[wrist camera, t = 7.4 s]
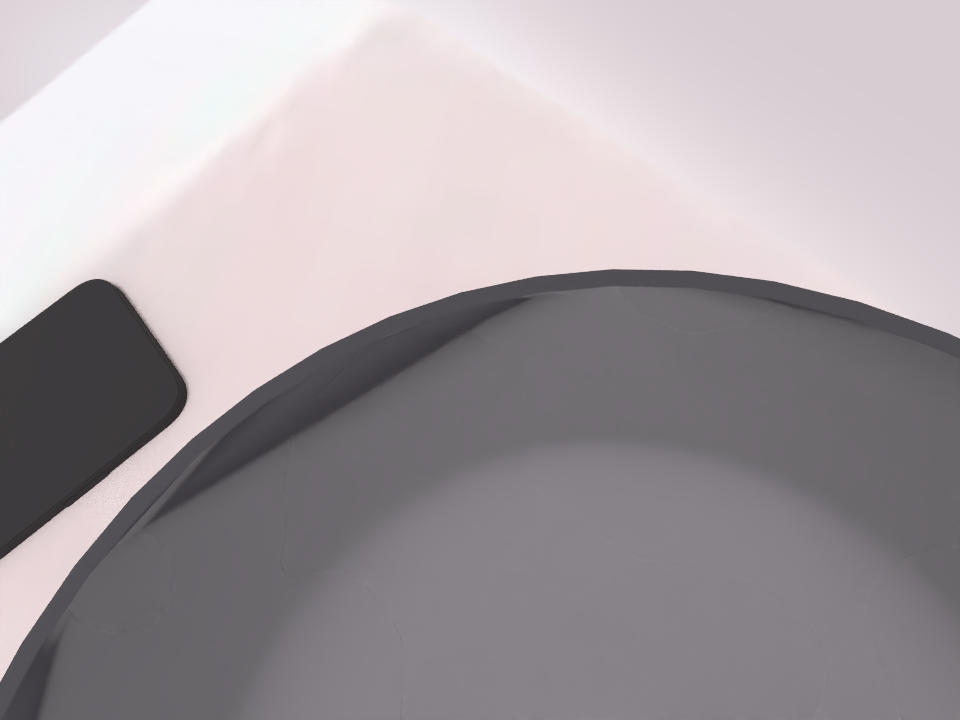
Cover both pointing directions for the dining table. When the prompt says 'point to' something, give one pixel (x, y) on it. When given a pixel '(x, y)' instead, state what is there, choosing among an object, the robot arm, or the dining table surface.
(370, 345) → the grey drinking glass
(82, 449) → the phone
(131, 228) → the dining table surface
